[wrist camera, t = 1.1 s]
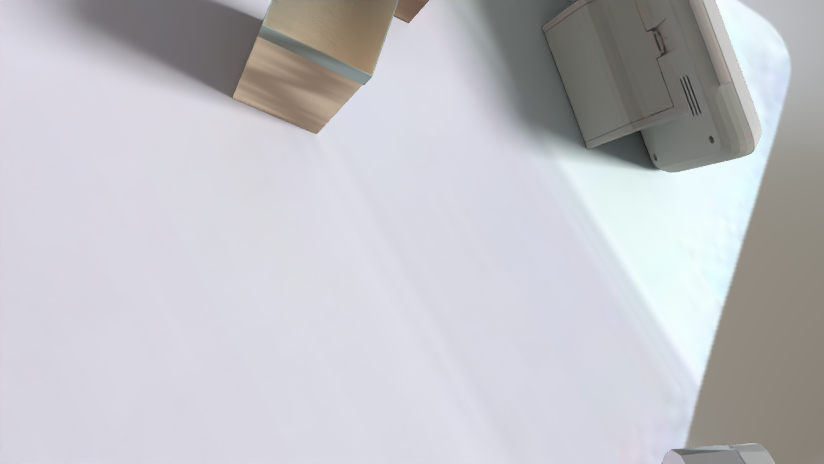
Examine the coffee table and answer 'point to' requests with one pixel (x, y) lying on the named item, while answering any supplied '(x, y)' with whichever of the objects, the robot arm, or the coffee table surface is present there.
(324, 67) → the pillar
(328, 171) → the coffee table surface
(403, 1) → the base
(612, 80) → the digital clock
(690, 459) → the robot arm
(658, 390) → the coffee table surface
